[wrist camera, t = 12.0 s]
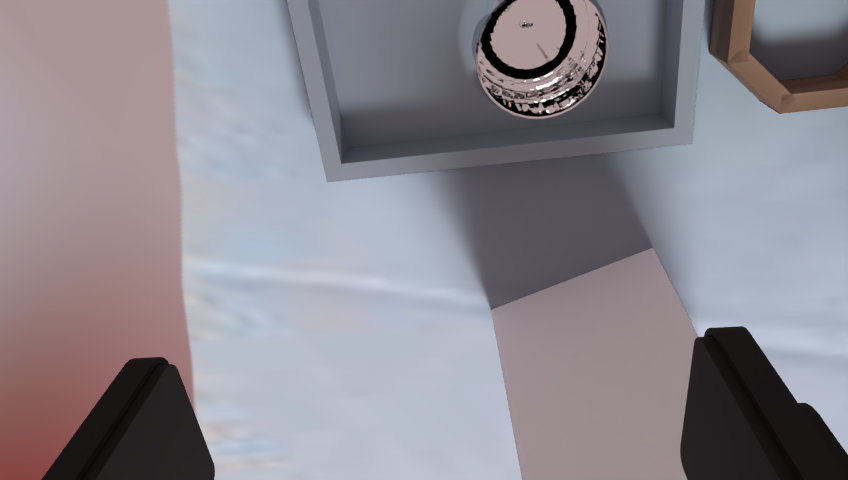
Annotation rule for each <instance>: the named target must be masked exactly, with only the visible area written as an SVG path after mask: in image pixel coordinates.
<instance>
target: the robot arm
mask: <svg viewBox="0 0 848 480" xmlns="http://www.w3.org/2000/svg"><path fill="white" fill-rule="evenodd" d="M680 456H681V462H682V466H683V469H684V472H685V475H686V477H687V480H848V455H847V453H846V452H845V450H844V449H843V448H842V446H841V445H840V443H839V442H838V441H837V439H836V438H835V436H834V435H833V434H832V432H831V431H830V429H829V428H828V426H827V425H826V424H825V422H824V421H823V419H822V418H821V417H820V415H819V414H818V413H817V412H816V411H815V409H814V408H813V407H812V406H810V405H808V404H806V403H797V401H796V400H795V398H794V397H793V395H792V394H791V392H790V391H789V390H788V388H787V387H786V385H785V384H784V382H783V381H782V379H781V378H780V376H779V375H778V373H777V372H776V371H775V369H774V368H773V366H772V365H771V363H770V362H769V360H768V359H767V357H766V356H765V354H764V353H763V351H762V350H761V349H760V347H759V346H758V344H757V343H756V341H755V340H754V338H753V337H752V335H751V334H750V332H749V331H748V330H747V329H746V328H745V327H742V326H741V327H722V328H709V329H707V330H706V332H705V335H704V337H697V338H696V339H695V341H694V347H693V354H692V362H691V369H690V377H689V384H688V392H687V399H686V407H685V414H684V422H683V430H682V437H681V445H680ZM214 475H215V469H214V463H213V461H212V458H211V455H210V453H209V450H208V448H207V445H206V442H205V440H204V437H203V434H202V432H201V429H200V427H199V424H198V421H197V419H196V416H195V414H194V411H193V408H192V406H191V403H190V401H189V398H188V396H187V393H186V390H185V387H184V385H183V382H182V379H181V377H180V375H179V372H178V369H177V368H176V366H175V365H172V364H169V363H168V361H167V360H166V359H165V358H162V357H155V358H154V357H153V358H135V359H131V360H129V361H128V362H127V363H126V364H125V365H124V367H123V368H122V369H121V371H120V372H119V374H118V375H117V376H116V378H115V379H114V380H113V382H112V383H111V385H110V386H109V387H108V389H107V390H106V392H105V393H104V394H103V396H102V397H101V399H100V400H99V401H98V402H97V404H96V405H95V407H94V408H93V409H92V411H91V412H90V414H89V415H88V416H87V418H86V419H85V420H84V422H83V423H82V424H81V426H80V427H79V429H78V430H77V431H76V433H75V434H74V436H73V437H72V438H71V440H70V441H69V443H68V444H67V445H66V447H65V448H64V449H63V451H62V452H61V453H60V455H59V456H58V458H57V459H56V460H55V462H54V463H53V465H52V466H51V467H50V469H49V470H48V471H47V473H46V474H45V475H44V477H43V478H42V480H214Z"/></svg>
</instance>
